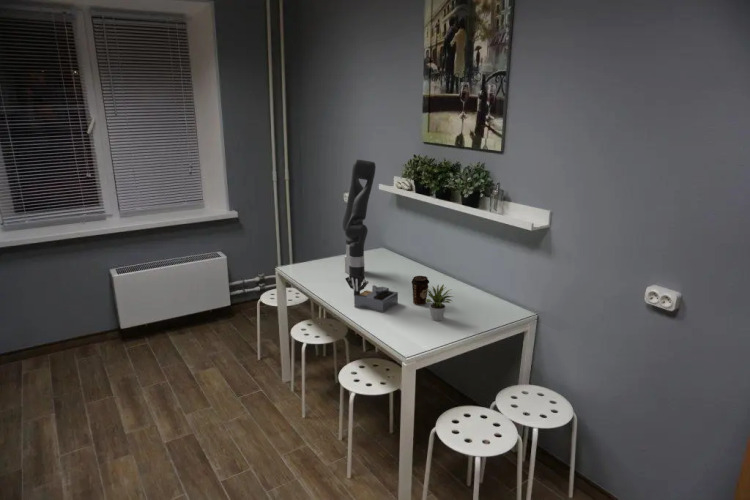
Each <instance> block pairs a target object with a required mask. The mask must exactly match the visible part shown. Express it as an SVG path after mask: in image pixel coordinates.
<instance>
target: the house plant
mask: <svg viewBox="0 0 750 500" xmlns="http://www.w3.org/2000/svg"><path fill="white" fill-rule="evenodd" d="M439 285H440V284H438V283H437V287H436V288H435V287H434V286H433V285H432V288H433V289H432V288H431V287H430V289H431V290H432V291H433V292H432V291H431V290H430V289H429V288H428V290H427V289H426V290H427V296H429V297H430V298H431V299H432V300H431V299H429V298H426V303H430V304H429V310H430V311H429V312H430V316H431V320H432V321H434V322H441V321H443V319H444V315H445V310H446V305H445V303H446V304H447V303H448V304H450V305H451V302H453V300H452V299H450V298H453V296H452V295H450V293H448V292H450V291H452V290H453V289H448V290H447V291H445V292H444V293H443V291H444V290H445V289H446V288H447V286H446V287H445V284H444V283H443V284H442V285H441V286H439ZM424 291H425V290H424ZM433 293H434V295H433ZM442 293H443V294H442Z"/></svg>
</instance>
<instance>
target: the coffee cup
mask: <svg viewBox="0 0 750 500" xmlns="http://www.w3.org/2000/svg"><path fill="white" fill-rule="evenodd" d="M411 284H412V303H413V304H414V305H416V306H423V305H426V304H427V301H426V299H428V292H427V290H428V289H429V284H430V280H429V279H428V276H425V275H416V276H413V277H412V279H411ZM426 289H427V290H426ZM424 290H425V291H424ZM428 291H429V290H428Z"/></svg>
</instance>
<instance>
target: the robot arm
mask: <svg viewBox="0 0 750 500" xmlns="http://www.w3.org/2000/svg"><path fill="white" fill-rule="evenodd" d="M375 176H376V163H375V162H374V161H370V160H365V159H356V160H354V162H353V165H352V170H351V181H350V185H349V186H350V187H349V191H348V196H347V204H346V209H345V212H344V216H343V220H342V229H343V231H344V234H345V237H347V238H346V239H345V252H346V253H345V256H344V272H345V273H346V274H348V276H347V277H345V278H344V279H345V281H346V282H347V285H348V286H349V288H350V289H352V290H353V297H354V296H355V295H358V294H360V293H361V292H362V291H364V289H365V288H366V287H367V285H368V284H369V281H368V280H366V279H365V271H366V269H365V243H366V239H367V236H368V232H369V231H368V227H367V225H365V224H364V221H365V220H366V217H367V212H368V211H367V210H368V205H369V204H368V203H369V199H370V195H371V191H372V188H373V183H374V180H375ZM360 180H365V181H366V183H365V186H363V185H362V183H361V182H360Z"/></svg>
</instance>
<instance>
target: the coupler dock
mask: <svg viewBox="0 0 750 500" xmlns="http://www.w3.org/2000/svg"><path fill="white" fill-rule="evenodd" d="M371 287H372V290H371V291H372V292H371V293H369V294H367V296H362V295H355V296H354V295H353V297H354V298H353V299H354V303H353V304H354V308H364V309H368V310H372V311H375V312H380V313H385V312H387V311H388V310H389V309H392V307H395V306H396V305H397V304H399V301H398V300H399V292H397V291H393V290H390V289H389V287H385V286H376V285H375V284H373V285H371ZM378 296H380V299H376V298H377V297H378Z"/></svg>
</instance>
